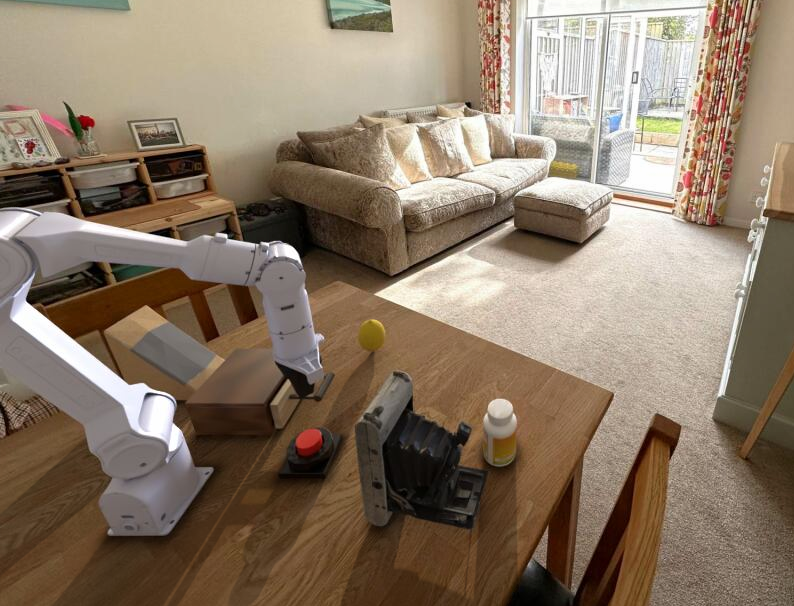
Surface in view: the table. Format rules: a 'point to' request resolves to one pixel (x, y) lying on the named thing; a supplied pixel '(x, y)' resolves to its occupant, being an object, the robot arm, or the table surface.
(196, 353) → the sandwich container
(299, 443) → the release button
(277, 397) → the wooden drawer
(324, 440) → the black button housing
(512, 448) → the supplement bottle
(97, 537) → the table surface
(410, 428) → the vintage camera
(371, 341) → the lemon
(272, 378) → the wooden drawer cabinet
